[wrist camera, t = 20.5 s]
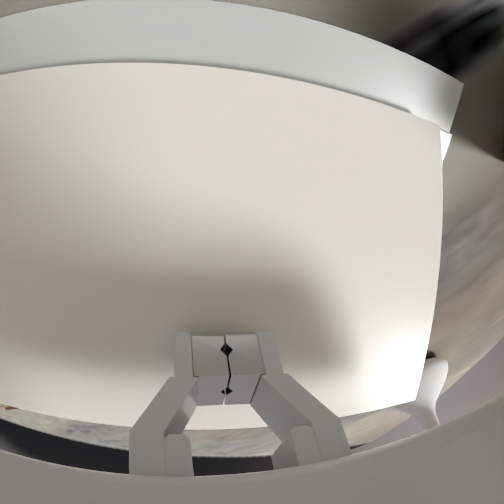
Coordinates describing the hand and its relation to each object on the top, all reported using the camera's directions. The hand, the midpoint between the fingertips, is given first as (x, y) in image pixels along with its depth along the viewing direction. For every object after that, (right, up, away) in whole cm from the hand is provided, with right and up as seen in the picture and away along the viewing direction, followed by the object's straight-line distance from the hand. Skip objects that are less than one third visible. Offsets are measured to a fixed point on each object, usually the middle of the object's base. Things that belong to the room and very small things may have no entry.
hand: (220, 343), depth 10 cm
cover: (-2, +3, +1) cm, 4 cm away
